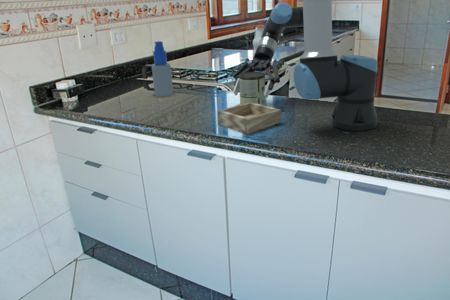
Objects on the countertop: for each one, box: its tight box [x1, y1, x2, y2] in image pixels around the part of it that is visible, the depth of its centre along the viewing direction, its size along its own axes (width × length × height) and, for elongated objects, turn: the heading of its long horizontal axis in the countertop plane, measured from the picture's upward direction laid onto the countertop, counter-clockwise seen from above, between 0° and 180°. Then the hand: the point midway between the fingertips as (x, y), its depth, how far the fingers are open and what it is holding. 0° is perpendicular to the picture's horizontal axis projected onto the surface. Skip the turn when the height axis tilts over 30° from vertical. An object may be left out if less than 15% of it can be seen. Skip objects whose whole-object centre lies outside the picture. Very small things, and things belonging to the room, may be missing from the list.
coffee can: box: [239, 72, 266, 106], centre depth 150 cm, size 10×10×14 cm
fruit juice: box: [252, 24, 271, 80], centre depth 203 cm, size 9×9×28 cm
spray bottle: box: [151, 41, 174, 98], centre depth 179 cm, size 9×9×25 cm
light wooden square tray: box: [217, 102, 282, 135], centre depth 134 cm, size 16×16×5 cm
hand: (249, 95), depth 149 cm, fingers open, 13 cm apart
